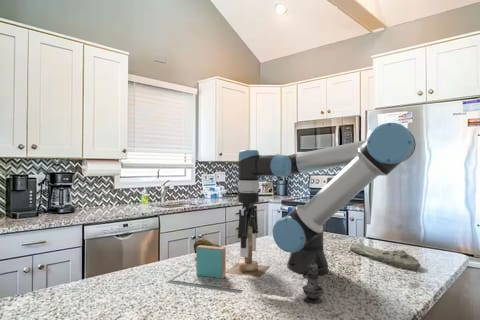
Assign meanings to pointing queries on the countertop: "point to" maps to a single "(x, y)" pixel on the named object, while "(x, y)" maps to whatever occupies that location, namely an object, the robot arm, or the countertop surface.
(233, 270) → the board
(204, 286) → the mat
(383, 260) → the elongated rock
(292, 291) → the countertop surface
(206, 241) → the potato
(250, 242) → the masher
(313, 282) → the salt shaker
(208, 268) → the tile
